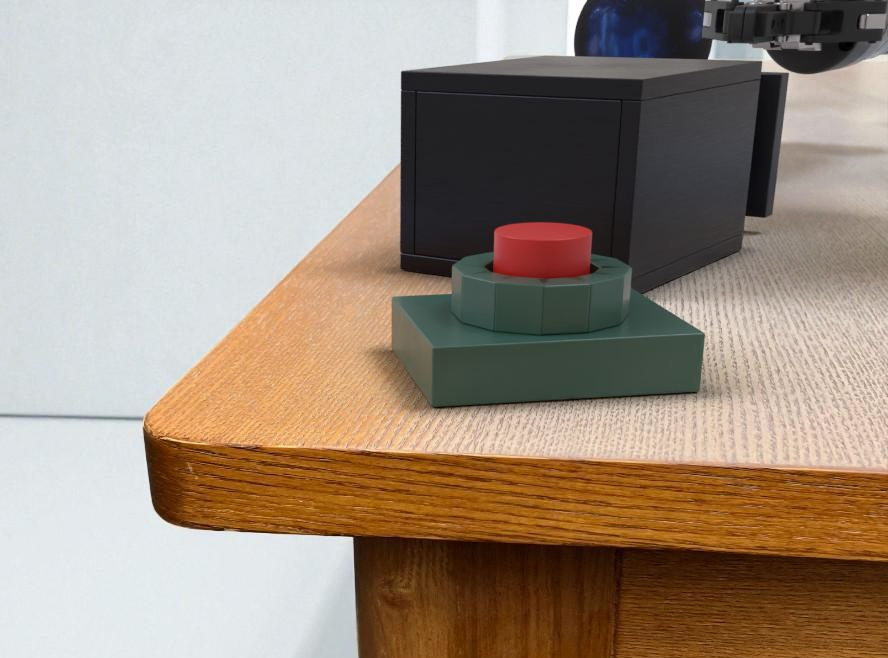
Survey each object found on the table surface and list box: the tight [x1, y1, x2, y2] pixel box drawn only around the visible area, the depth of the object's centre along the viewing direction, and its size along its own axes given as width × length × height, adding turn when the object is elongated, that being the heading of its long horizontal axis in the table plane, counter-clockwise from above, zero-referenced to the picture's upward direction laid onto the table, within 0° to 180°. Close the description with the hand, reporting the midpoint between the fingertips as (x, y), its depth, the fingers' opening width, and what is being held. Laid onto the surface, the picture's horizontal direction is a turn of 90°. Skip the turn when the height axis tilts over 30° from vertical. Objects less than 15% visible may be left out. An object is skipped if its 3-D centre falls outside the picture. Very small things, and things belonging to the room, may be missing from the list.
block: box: [391, 252, 706, 408], centre depth 49 cm, size 10×8×4 cm
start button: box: [493, 222, 592, 279], centre depth 48 cm, size 4×4×2 cm
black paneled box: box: [399, 55, 763, 294], centre depth 67 cm, size 15×13×10 cm
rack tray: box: [745, 71, 790, 219], centre depth 73 cm, size 18×12×8 cm, turn 144°
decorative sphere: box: [573, 0, 713, 60], centre depth 143 cm, size 15×15×15 cm
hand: (743, 25), depth 80 cm, fingers closed
